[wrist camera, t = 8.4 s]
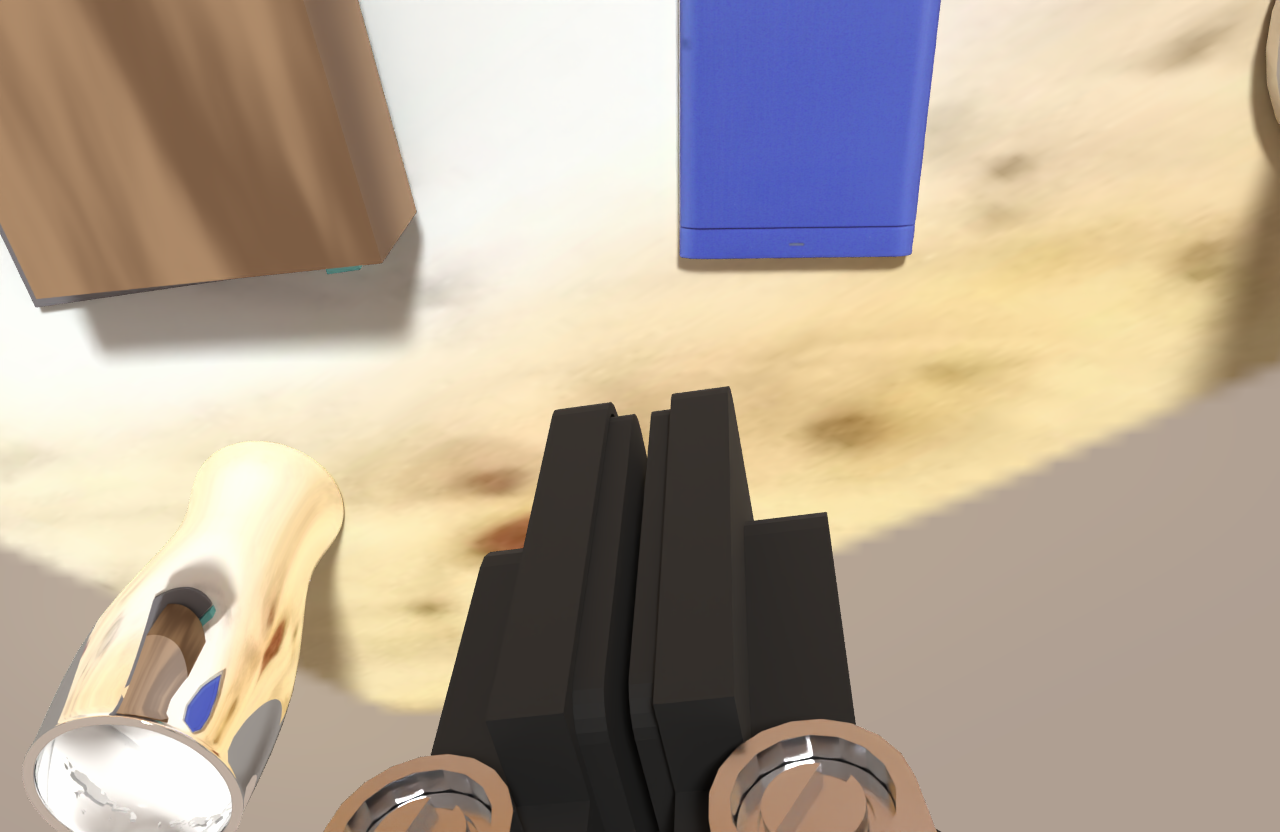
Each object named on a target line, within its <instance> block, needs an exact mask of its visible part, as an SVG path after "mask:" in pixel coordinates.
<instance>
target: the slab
mask: <svg viewBox="0 0 1280 832" xmlns="http://www.w3.org/2000/svg"><path fill="white" fill-rule="evenodd" d="M415 214H416V208H415V204H414V201H413V197H412V194H411V190H410V186H409V183H408V179H407V176H406V172H405V168H404V165H403V161H402V157H401V154H400V150H399V147H398V143H397V139H396V136H395V132H394V129H393V125H392V121H391V118H390V114H389V110H388V107H387V103H386V100H385V96H384V92H383V89H382V85H381V82H380V78H379V74H378V71H377V67H376V63H375V60H374V56H373V53H372V49H371V45H370V42H369V38H368V35H367V31H366V27H365V24H364V20H363V16H362V13H361V9H360V6H359V2H358V0H0V224H1V226H2V228H3V230H4V232H5V234H6V236H7V238H8V241H9V243H10V245H11V247H12V249H13V251H14V253H15V255H16V257H17V259H18V262H19V264H20V266H21V268H22V270H23V272H24V274H25V276H26V278H27V280H28V282H29V285H30V287H31V289H32V291H33V293H34V295H35V297H36V299H42V298H52V297H62V296H71V295H81V294H91V293H100V292H110V291H120V290H129V289H139V288H148V287H158V286H168V285H177V284H187V283H197V282H206V281H216V280H226V279H235V278H245V277H255V276H264V275H274V274H283V273H293V272H303V271H312V270H322V269H332V268H341V267H351V266H361V265H370V264H380V263H383V261H384V260H385V258H386V257H387V255H388V254H389V252H390V251H391V249H392V248H393V246H394V245H395V243H396V242H397V240H398V239H399V237H400V236H401V234H402V233H403V231H404V230H405V228H406V227H407V225H408V224H409V222H410V221H411V219H412V218H413V216H414V215H415Z"/></svg>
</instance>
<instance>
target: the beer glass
mask: <svg viewBox="0 0 1280 832" xmlns="http://www.w3.org/2000/svg"><path fill="white" fill-rule="evenodd" d="M343 515H344V508H343V501H342V497H341V494H340V491H339V489H338V487H337V485H336V483H335V481H334V480H333V478H332V477H331V476H330V474H329V473H328V472H327V471H326V470H325V469H324V468H323V467H322V466H321V465H320V464H319V463H318V462H316V461H315V460H314V459H312V458H311V457H309V456H308V455H306V454H304V453H303V452H301V451H299V450H296V449H294V448H292V447H289V446H286V445H283V444H279V443H274V442H268V441H245V442H239V443H235V444H231V445H229V446H226V447H224V448H222V449H220V450H218V451H217V452H215V453H214V454H212V455H211V456H210V457H209V458H208V459H207V460H206V461H205V462H204V463H203V464H202V466H201V467H200V469H199V471H198V473H197V475H196V477H195V480H194V483H193V486H192V490H191V495H190V499H189V503H188V508H187V512H186V515H185V517H184V519H183V521H182V523H181V525H180V526H179V528H178V529H177V531H176V532H175V534H174V535H173V536H172V537H171V538H170V540H169V541H168V542H167V543H166V544H165V545H164V546H163V547H162V549H161V550H160V551H159V552H158V553H157V554H156V555H155V556H154V557H153V558H152V559H151V560H150V561H149V562H148V563H147V564H146V565H145V566H144V567H143V568H142V569H141V571H140V572H139V573H138V574H137V575H136V576H135V577H134V578H133V579H132V580H131V581H130V582H129V583H128V584H127V586H126V587H125V588H124V589H123V590H122V591H121V592H120V593H119V595H118V596H117V597H116V598H115V600H114V601H113V602H112V603H111V604H110V606H109V607H108V608H107V609H106V611H105V612H104V613H103V614H102V615H101V617H100V618H99V619H98V621H97V622H96V624H95V625H94V627H93V628H92V630H91V632H90V633H89V635H88V636H87V638H86V639H85V641H84V642H83V644H82V645H81V647H80V649H79V650H78V652H77V654H76V656H75V658H74V659H73V661H72V663H71V665H70V667H69V668H68V671H67V672H66V674H65V676H64V678H63V680H62V681H61V684H60V686H59V688H58V690H57V692H56V694H55V696H54V698H53V701H52V703H51V705H50V707H49V709H48V711H47V714H46V716H45V718H44V720H43V723H42V725H41V727H40V729H39V731H38V734H37V736H36V738H35V740H34V742H33V744H32V745H31V746H30V748H29V749H28V751H27V753H26V756H25V758H24V762H23V768H22V778H23V784H24V787H25V791H26V793H27V796H28V798H29V800H30V802H31V803H32V805H33V806H34V808H35V809H36V811H37V812H38V813H39V814H40V815H41V817H42V818H43V819H44V820H45V821H46V822H47V823H48V824H50V825H51V826H52V827H53V828H54V829H55V830H57V831H58V832H235V831H236V830H237V828H238V826H239V824H240V822H241V818H242V815H243V812H244V810H245V808H246V806H247V804H248V801H249V799H250V797H251V795H252V793H253V791H254V789H255V787H256V785H257V783H258V781H259V779H260V776H261V774H262V772H263V770H264V768H265V766H266V764H267V761H268V759H269V757H270V755H271V752H272V750H273V747H274V745H275V742H276V740H277V737H278V735H279V732H280V730H281V727H282V725H283V722H284V718H285V715H286V712H287V708H288V706H289V702H290V699H291V696H292V693H293V688H294V683H295V678H296V673H297V667H298V662H299V656H300V648H301V640H302V632H303V623H304V614H305V605H306V598H307V591H308V586H309V583H310V581H311V580H310V579H311V576H312V574H313V571H314V569H315V567H316V566H317V564H318V562H319V561H320V560H321V558H322V557H323V556H324V554H325V553H326V552H327V550H328V549H329V548H330V546H331V545H332V543H333V542H334V540H335V539H336V537H337V535H338V533H339V531H340V529H341V526H342V523H343Z"/></svg>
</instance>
